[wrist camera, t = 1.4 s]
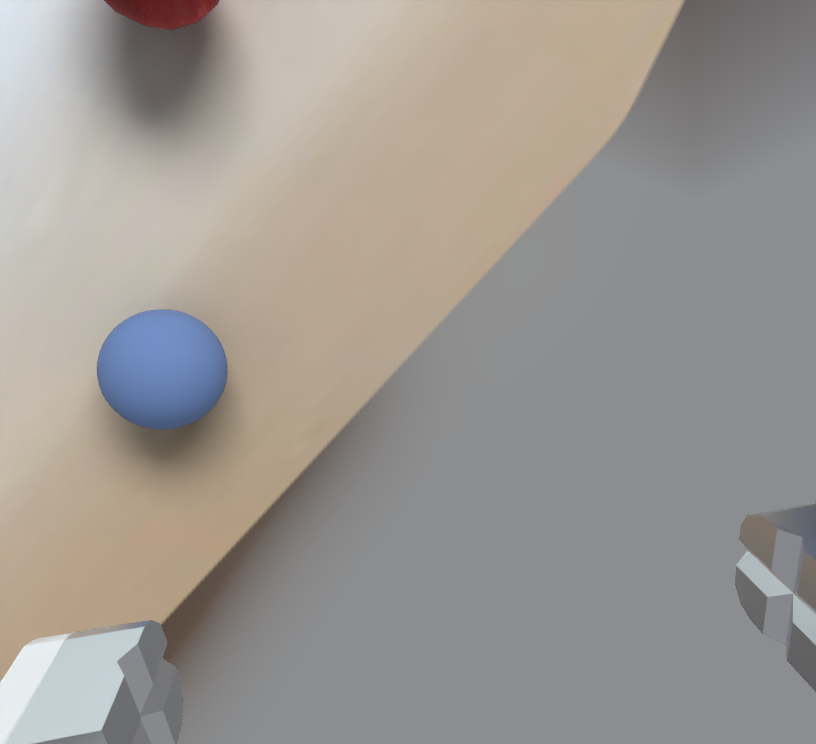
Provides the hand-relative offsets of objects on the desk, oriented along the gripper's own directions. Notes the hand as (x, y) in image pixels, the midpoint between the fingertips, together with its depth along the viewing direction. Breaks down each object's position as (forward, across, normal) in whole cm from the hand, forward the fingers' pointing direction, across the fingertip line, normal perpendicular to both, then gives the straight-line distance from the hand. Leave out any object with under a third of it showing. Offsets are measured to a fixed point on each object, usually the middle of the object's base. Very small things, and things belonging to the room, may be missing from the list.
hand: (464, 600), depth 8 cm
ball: (+22, +11, +3) cm, 25 cm away
